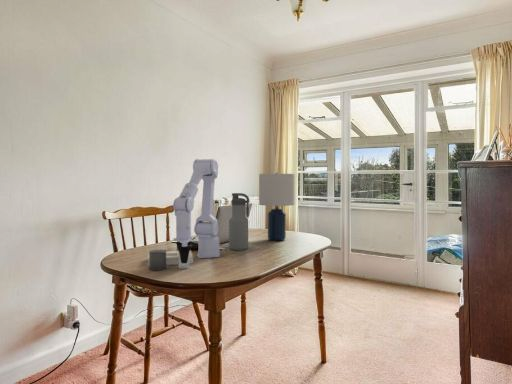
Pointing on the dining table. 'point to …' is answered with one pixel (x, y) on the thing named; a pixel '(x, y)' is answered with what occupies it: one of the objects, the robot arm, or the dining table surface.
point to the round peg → (157, 260)
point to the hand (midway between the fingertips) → (183, 261)
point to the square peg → (183, 265)
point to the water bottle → (239, 223)
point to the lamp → (276, 201)
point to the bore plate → (174, 258)
